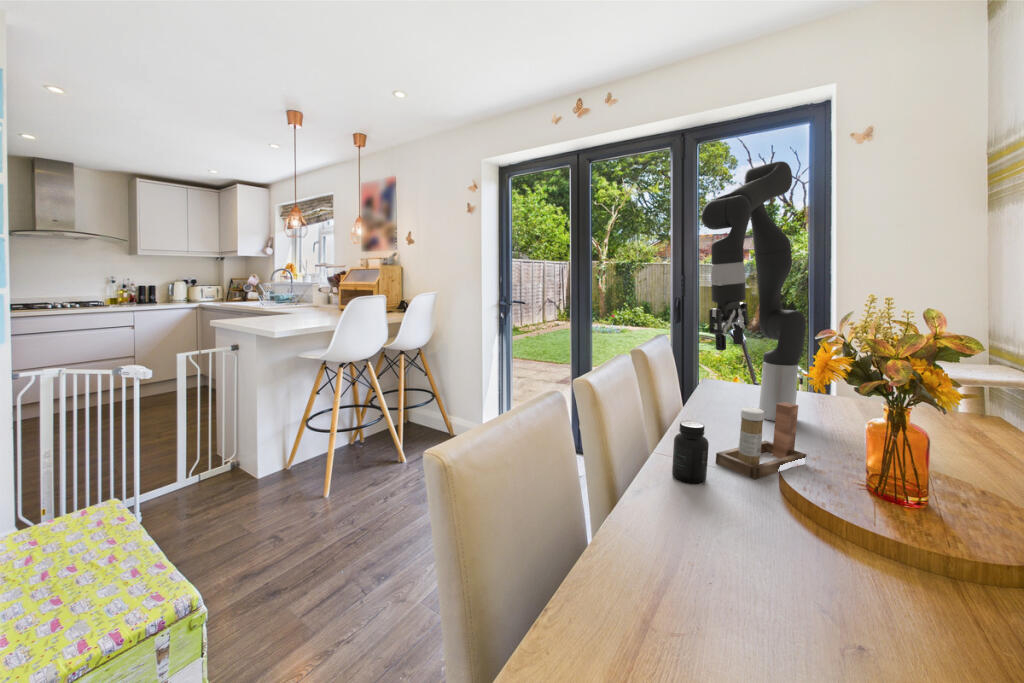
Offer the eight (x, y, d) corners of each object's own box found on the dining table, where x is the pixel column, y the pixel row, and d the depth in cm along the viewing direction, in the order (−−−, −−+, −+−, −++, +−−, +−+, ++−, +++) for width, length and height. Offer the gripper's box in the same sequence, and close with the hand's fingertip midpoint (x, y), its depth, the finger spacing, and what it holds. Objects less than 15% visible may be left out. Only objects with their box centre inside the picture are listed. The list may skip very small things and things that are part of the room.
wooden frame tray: (767, 449, 112) (771, 398, 110) (807, 463, 103) (813, 408, 102) (715, 462, 103) (719, 408, 102) (755, 479, 95) (760, 420, 93)
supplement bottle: (695, 470, 99) (698, 418, 98) (712, 484, 93) (716, 428, 91) (666, 472, 98) (669, 419, 97) (681, 486, 92) (684, 430, 90)
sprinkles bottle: (745, 461, 104) (750, 405, 102) (764, 469, 100) (769, 411, 98) (732, 465, 102) (736, 408, 100) (750, 472, 98) (755, 413, 96)
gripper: (727, 280, 116) (729, 341, 119) (697, 285, 108) (700, 351, 110) (757, 278, 110) (758, 343, 113) (728, 283, 102) (730, 353, 104)
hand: (729, 347), depth 112 cm, fingers open, 8 cm apart
